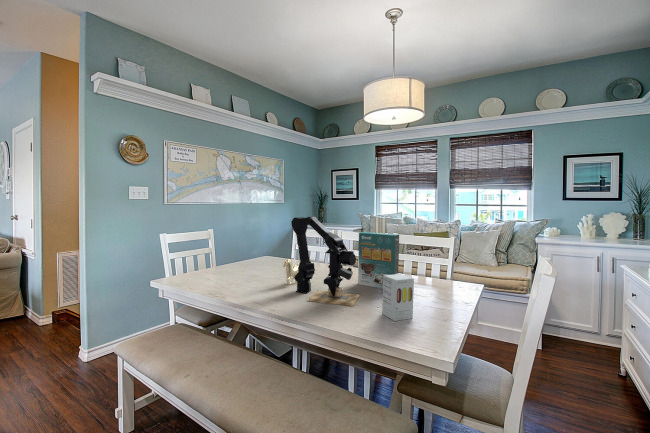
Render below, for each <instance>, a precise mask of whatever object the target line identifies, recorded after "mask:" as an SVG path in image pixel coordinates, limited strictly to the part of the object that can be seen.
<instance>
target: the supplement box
mask: <svg viewBox="0 0 650 433" xmlns="http://www.w3.org/2000/svg"><path fill="white" fill-rule="evenodd" d="M414 285H415V278H413V277H411V276H408V275H405V274H402V273H398V274H394V275H383V288H382V302H381V303H382V306H381V307H382V310H381V313H382V315H384V316H385V317H387V318H388V319H390V320H392V321H394V322H397V321H404V320H411V319H413V316H414V315H413V314H414V291H415V290H414V287H415V286H414Z"/></svg>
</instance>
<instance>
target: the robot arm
mask: <svg viewBox="0 0 650 433" xmlns="http://www.w3.org/2000/svg"><path fill="white" fill-rule="evenodd" d="M290 223H291V227H292V231H293V232H294V233H295V235H296V241H297V248H298V255H299V263H300V264H299V267H298V273H297V274H296V275H295V276H294V281H297V284H296V291H295V293H301V294H308V293H310V292H311V290H312V283H311V280H313V277H314V275H315V271H316V268H315V262H311V260H310V253H309V248H308V242H307V234H306V233H307V230H308V227H309V226H310V227H311V228H312V229H313V230H314V231H315V232H317V234H318V235H319V236H320V237H322V239H323V240H324V244H325V245H326V246H327V248H328V249H327V250H326V251H325V254H328V255H329V265H328V266H327V267H328V269H329V270H328V272H329V273H328V275H327V276H326V277H325V278H324V279H323V284H324V285H327V287H328V288H329V289H330V291H331V293H332V296H335V293H336V287H340V284H341V283H342V281H343V280H344V278H345V279H346V280H347V281H350V280H351V278H352V277H353V273H354V271H353V270H352V269H353V268H352V267H347V268H344V267H343V265H344V266H355V265H356V261H357V257H356V254H355V253H354V250H348V248H347V247H346V245H345V243H344V240H343V238H342V237H341V236H339V235H337V234H336V233H333V232H331V231H330V230H329V229H328V228H327V227H326V226H325V225H323V223H321V222H320V220H318V219H317V217H316V216H307V217H305V216H299V217H296V216H295V217H293V218H292V220H291V221H290ZM341 277H342V278H341Z"/></svg>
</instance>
